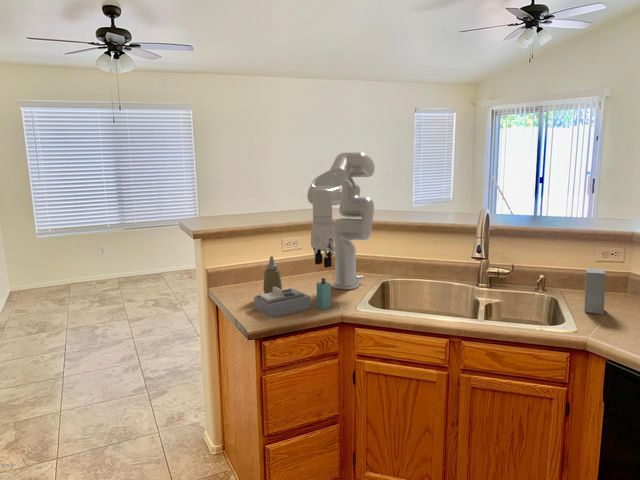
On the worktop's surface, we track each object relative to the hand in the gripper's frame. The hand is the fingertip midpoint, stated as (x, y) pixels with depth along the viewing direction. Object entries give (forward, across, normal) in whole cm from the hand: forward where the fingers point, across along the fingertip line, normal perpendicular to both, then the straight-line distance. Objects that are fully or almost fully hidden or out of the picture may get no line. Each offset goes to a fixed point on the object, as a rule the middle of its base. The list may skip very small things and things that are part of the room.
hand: (323, 265), depth 184 cm
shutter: (+12, -9, -18) cm, 24 cm away
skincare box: (+18, +66, +80) cm, 105 cm away
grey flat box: (+17, -9, -14) cm, 24 cm away
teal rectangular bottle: (+17, 0, 0) cm, 17 cm away
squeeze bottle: (+18, -24, -10) cm, 31 cm away
